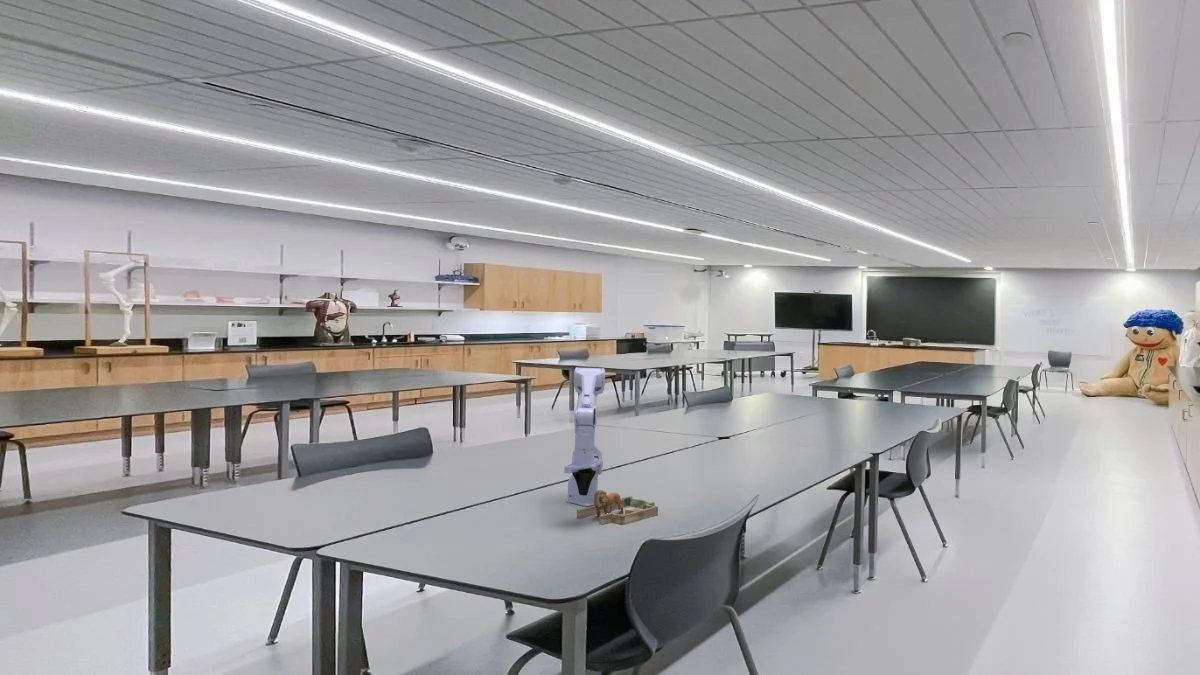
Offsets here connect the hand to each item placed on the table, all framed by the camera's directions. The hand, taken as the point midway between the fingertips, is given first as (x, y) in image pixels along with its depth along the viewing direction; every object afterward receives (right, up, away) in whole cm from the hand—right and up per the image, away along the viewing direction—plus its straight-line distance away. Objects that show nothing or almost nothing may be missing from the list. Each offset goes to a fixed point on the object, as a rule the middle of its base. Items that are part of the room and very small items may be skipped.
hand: (583, 494), depth 229 cm
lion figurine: (+7, -9, +9) cm, 15 cm away
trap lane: (+12, -8, +11) cm, 18 cm away
